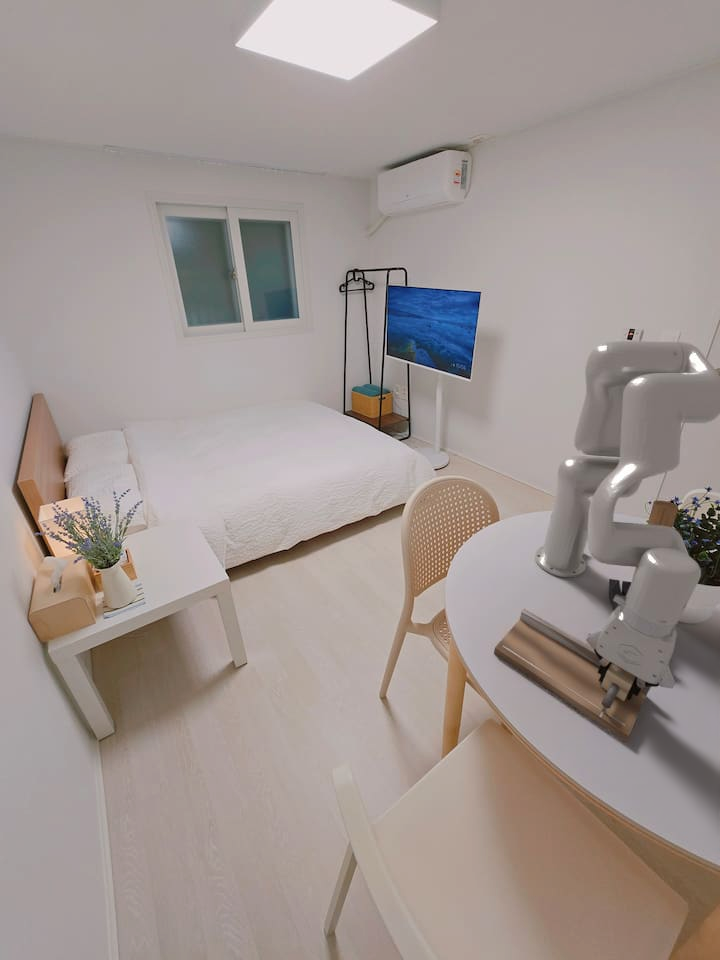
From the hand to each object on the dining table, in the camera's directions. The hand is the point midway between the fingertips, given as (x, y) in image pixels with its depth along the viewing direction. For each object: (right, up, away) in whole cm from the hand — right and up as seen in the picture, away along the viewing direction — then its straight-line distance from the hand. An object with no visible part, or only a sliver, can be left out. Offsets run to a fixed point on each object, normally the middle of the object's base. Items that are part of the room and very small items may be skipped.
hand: (616, 684), depth 75 cm
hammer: (+13, +6, +16) cm, 21 cm away
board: (-7, 0, +5) cm, 9 cm away
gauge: (-2, -1, -1) cm, 2 cm away
